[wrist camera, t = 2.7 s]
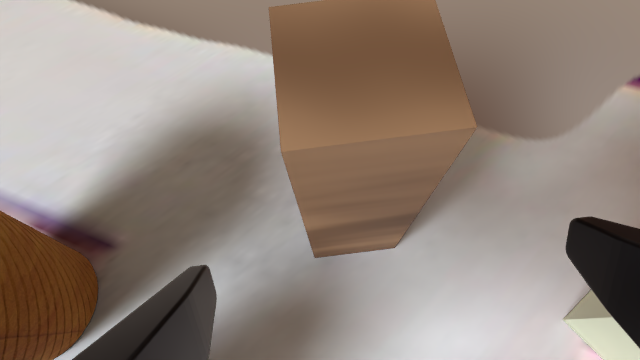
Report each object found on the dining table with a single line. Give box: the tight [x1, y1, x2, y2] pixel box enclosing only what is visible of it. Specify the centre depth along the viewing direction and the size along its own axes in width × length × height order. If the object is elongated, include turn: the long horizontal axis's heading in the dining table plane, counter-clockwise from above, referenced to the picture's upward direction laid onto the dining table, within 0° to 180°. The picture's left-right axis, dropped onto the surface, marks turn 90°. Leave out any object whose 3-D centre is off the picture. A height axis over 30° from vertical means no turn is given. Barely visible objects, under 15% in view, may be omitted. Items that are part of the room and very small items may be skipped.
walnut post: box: [269, 0, 477, 258], centre depth 15 cm, size 4×4×13 cm
